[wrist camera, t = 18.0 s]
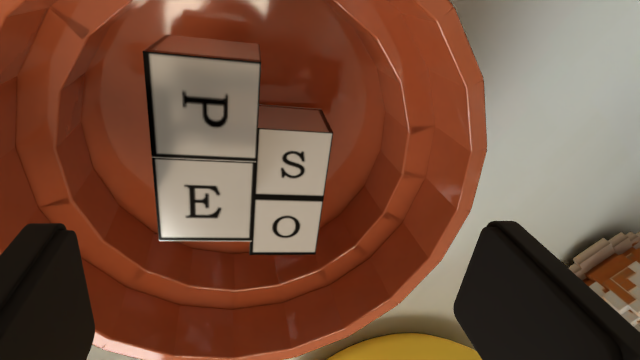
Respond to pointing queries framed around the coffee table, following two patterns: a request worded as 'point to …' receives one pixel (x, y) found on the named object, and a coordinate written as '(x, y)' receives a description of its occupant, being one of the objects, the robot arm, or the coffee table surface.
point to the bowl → (275, 89)
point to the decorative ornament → (614, 273)
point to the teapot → (407, 349)
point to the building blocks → (231, 150)
